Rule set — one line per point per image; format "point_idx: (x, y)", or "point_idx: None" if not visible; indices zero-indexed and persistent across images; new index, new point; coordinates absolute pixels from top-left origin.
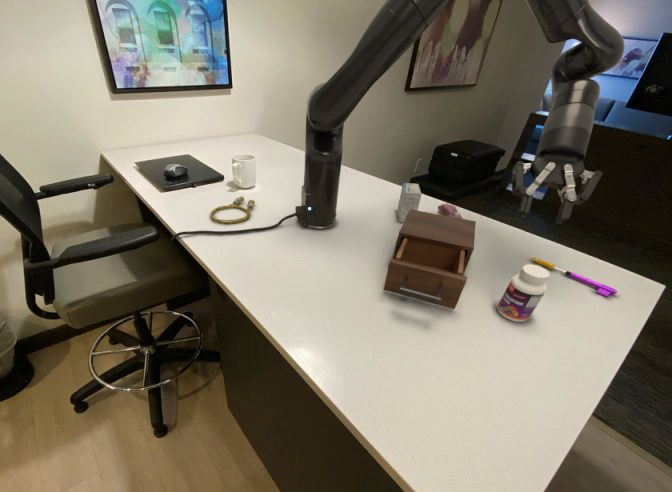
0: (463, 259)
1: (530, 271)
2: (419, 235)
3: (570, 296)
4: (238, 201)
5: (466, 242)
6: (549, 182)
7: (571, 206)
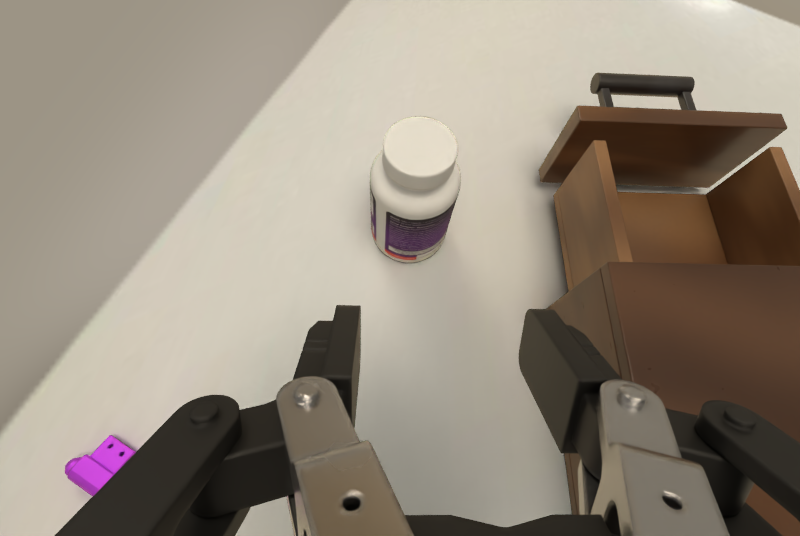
0: (611, 213)
1: (437, 134)
2: None
3: (232, 388)
4: None
5: (643, 295)
6: (540, 525)
7: (304, 370)
